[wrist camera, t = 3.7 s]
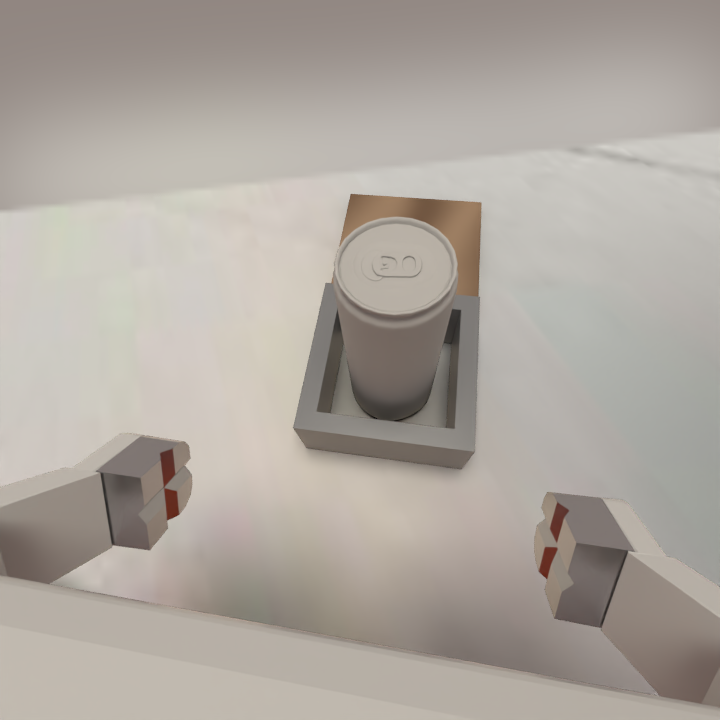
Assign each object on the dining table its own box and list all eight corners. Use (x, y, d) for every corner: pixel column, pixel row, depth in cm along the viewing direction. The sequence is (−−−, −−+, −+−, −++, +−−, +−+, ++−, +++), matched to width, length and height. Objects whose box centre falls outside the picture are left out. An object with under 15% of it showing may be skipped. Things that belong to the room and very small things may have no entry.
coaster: (479, 208, 32) (481, 202, 32) (475, 319, 28) (477, 314, 28) (351, 200, 34) (350, 194, 33) (328, 305, 29) (327, 300, 29)
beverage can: (355, 351, 28) (335, 213, 17) (429, 353, 27) (458, 213, 16) (350, 422, 25) (324, 317, 15) (431, 425, 25) (465, 319, 14)
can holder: (467, 331, 28) (479, 296, 24) (461, 469, 24) (474, 451, 20) (333, 318, 29) (325, 282, 25) (306, 448, 25) (293, 427, 21)
